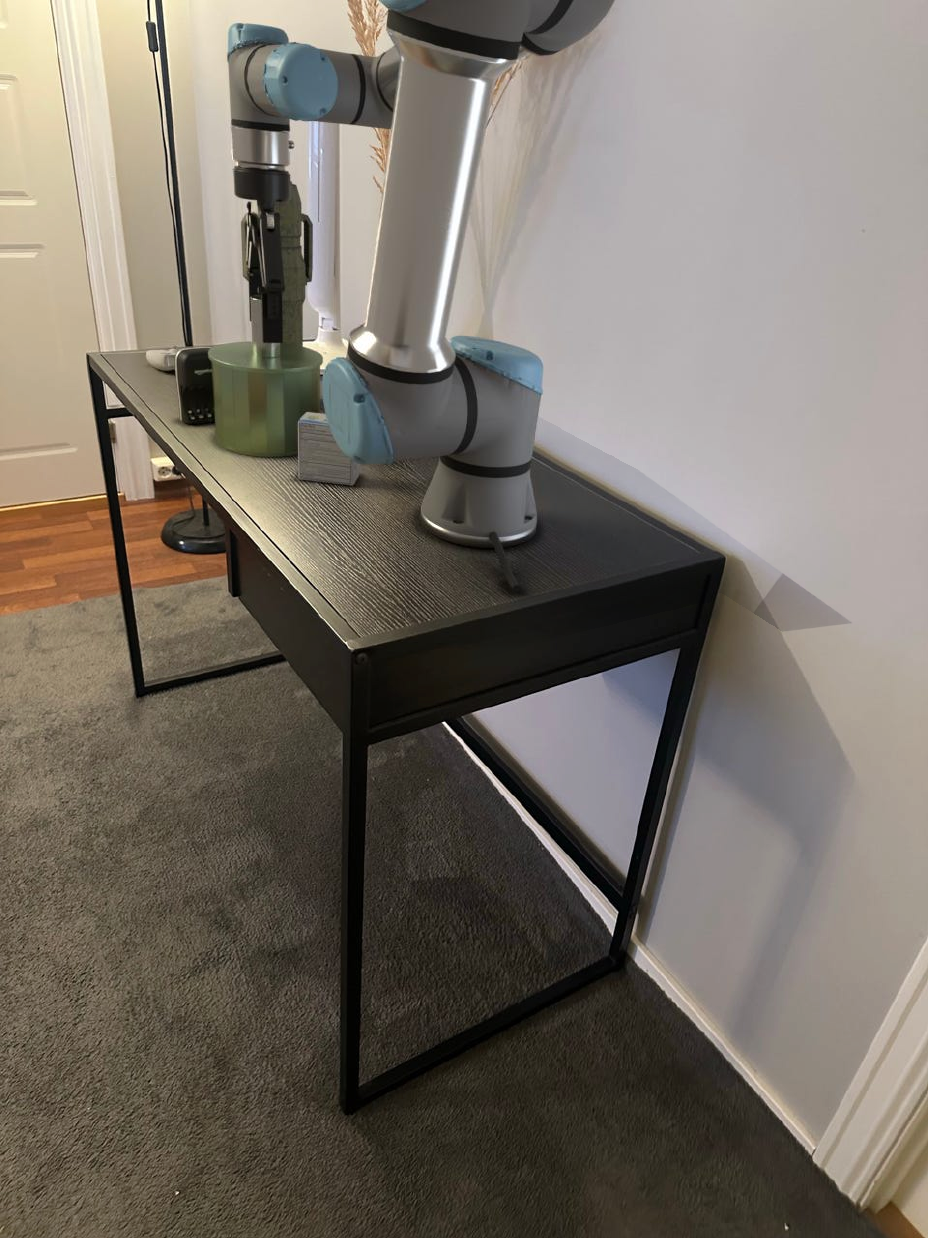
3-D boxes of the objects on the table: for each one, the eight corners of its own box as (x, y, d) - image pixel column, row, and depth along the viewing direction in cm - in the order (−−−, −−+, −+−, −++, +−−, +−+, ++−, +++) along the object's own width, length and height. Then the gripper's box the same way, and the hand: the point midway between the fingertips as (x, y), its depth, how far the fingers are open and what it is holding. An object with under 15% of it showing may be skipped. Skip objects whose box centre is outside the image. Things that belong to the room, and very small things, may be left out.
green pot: (328, 455, 126) (329, 372, 120) (222, 458, 121) (217, 372, 115) (308, 423, 139) (308, 346, 132) (211, 424, 133) (207, 344, 127)
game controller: (217, 344, 166) (230, 345, 158) (220, 367, 167) (232, 369, 159) (142, 345, 159) (151, 346, 151) (145, 369, 161) (154, 371, 152)
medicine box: (359, 476, 120) (361, 417, 116) (353, 487, 116) (354, 426, 112) (306, 469, 120) (305, 410, 116) (297, 480, 117) (297, 419, 112)
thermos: (237, 399, 146) (227, 175, 129) (294, 391, 154) (292, 178, 136) (264, 413, 141) (258, 181, 123) (322, 404, 148) (324, 184, 131)
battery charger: (188, 427, 131) (182, 353, 125) (177, 420, 133) (171, 348, 128) (229, 422, 135) (225, 350, 130) (218, 415, 138) (214, 344, 132)
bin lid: (333, 377, 120) (334, 311, 115) (214, 377, 114) (210, 307, 110) (311, 349, 133) (311, 288, 129) (203, 348, 128) (199, 284, 123)
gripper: (307, 176, 102) (307, 352, 113) (275, 162, 122) (278, 313, 133) (244, 170, 100) (250, 351, 110) (222, 157, 119) (229, 312, 130)
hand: (265, 331), depth 122 cm, fingers open, 13 cm apart
